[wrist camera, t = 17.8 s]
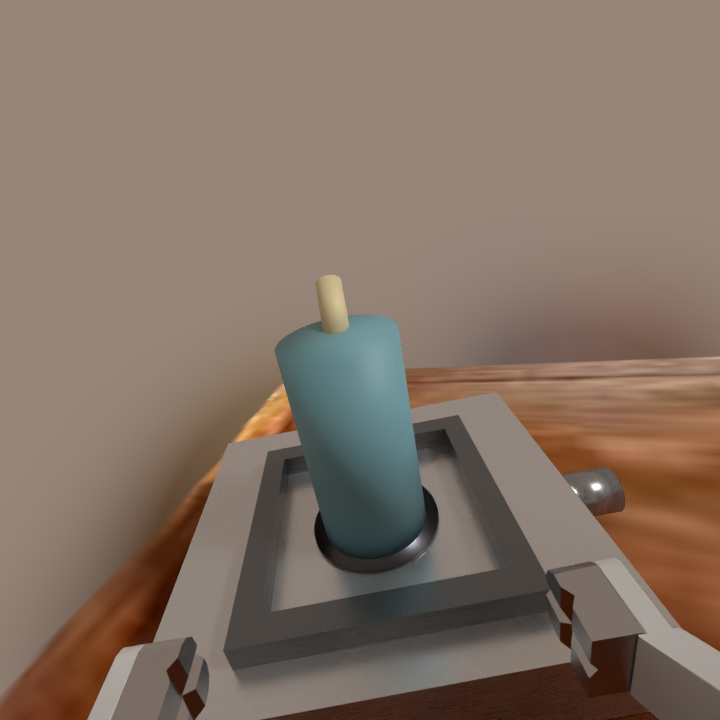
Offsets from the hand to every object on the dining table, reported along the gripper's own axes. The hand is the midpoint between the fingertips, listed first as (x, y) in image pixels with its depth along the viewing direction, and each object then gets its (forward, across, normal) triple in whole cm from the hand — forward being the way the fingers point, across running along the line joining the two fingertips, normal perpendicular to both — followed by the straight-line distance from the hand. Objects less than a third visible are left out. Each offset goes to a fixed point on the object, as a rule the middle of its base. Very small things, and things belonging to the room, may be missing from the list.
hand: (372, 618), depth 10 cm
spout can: (+10, 0, +7) cm, 12 cm away
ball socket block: (+11, -1, +11) cm, 16 cm away
